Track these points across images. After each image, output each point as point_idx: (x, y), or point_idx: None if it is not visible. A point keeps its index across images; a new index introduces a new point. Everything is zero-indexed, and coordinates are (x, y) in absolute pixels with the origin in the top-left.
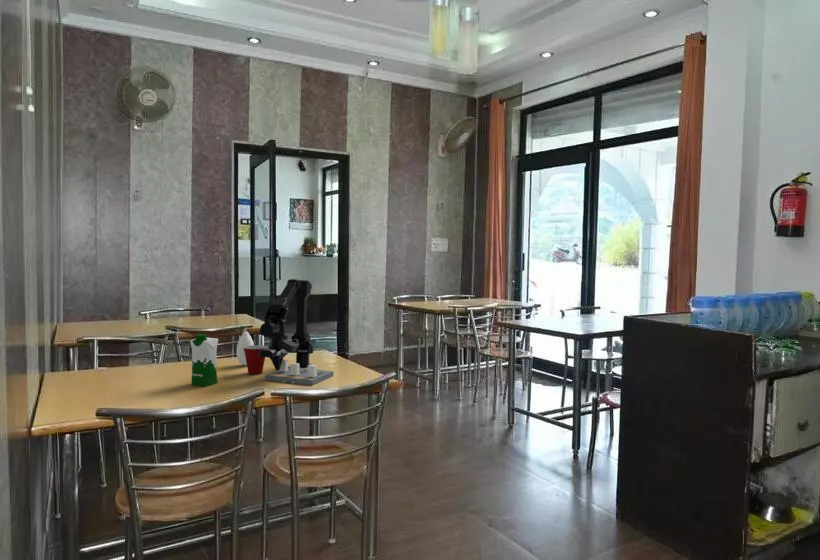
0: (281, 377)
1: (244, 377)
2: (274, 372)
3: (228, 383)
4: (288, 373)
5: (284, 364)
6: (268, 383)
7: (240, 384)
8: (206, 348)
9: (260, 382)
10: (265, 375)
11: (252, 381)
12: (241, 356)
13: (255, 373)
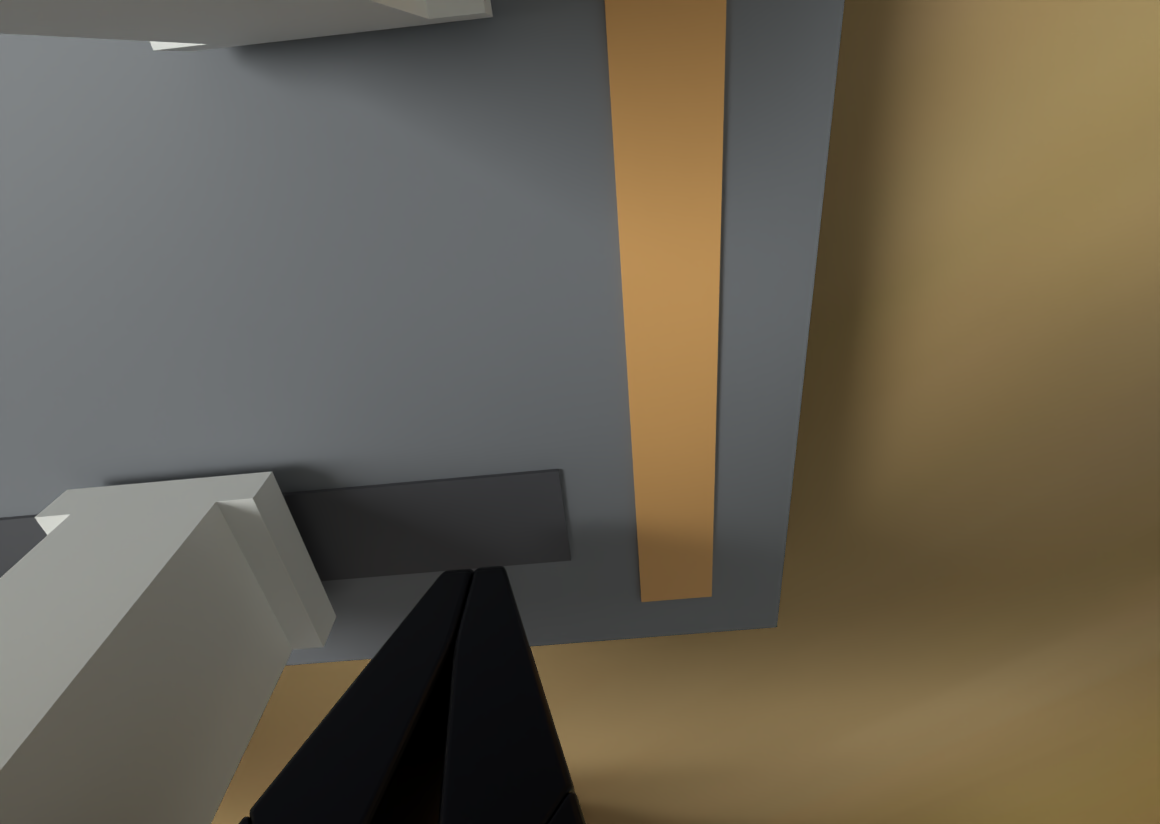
0: (824, 167)
1: (715, 808)
2: None
3: (1099, 774)
4: (279, 299)
5: (111, 686)
6: (1004, 338)
7: (1149, 657)
8: None
9: (949, 512)
10: (775, 620)
11: (909, 639)
12: None
13: None
